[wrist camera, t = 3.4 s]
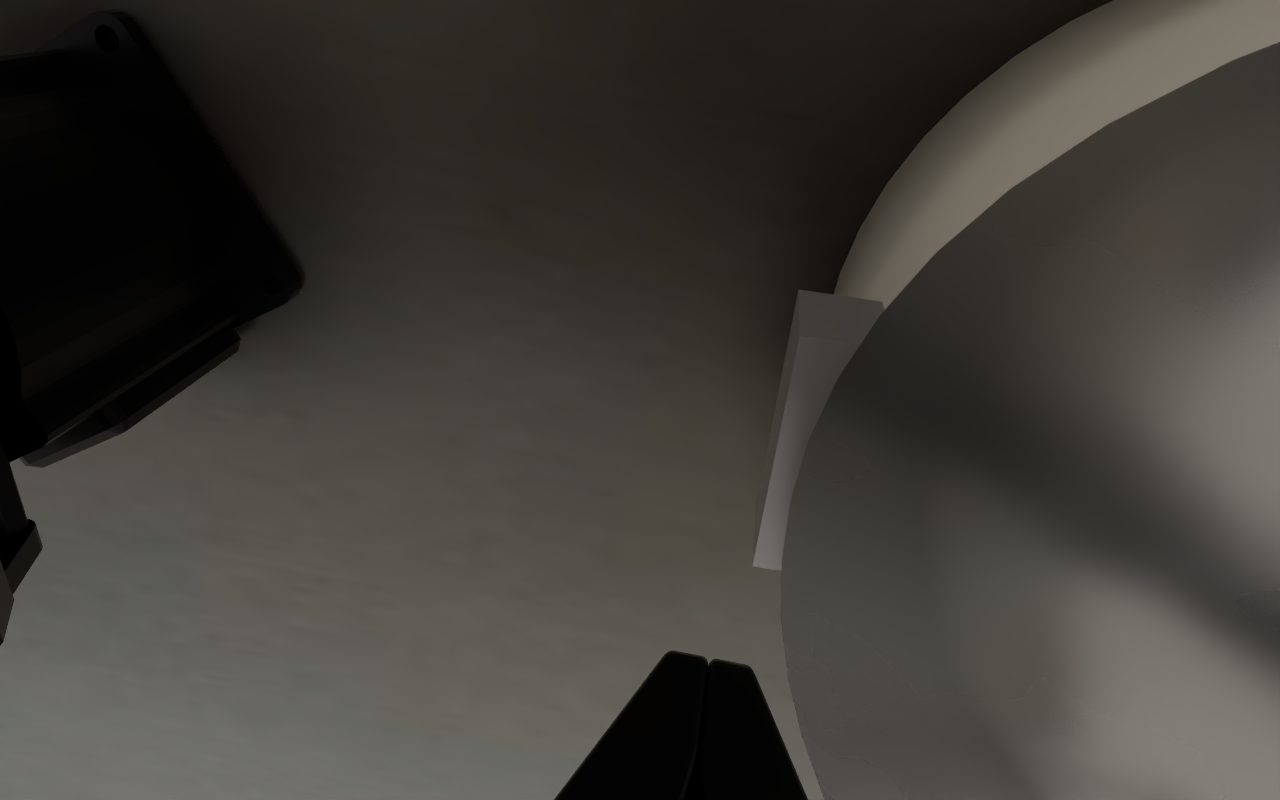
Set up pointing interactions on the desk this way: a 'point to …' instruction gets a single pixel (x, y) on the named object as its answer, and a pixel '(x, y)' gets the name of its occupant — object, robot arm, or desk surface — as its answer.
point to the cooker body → (987, 185)
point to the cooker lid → (1062, 485)
